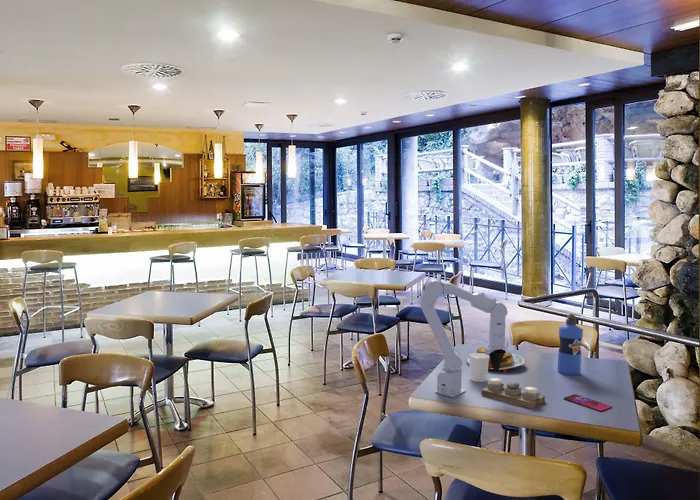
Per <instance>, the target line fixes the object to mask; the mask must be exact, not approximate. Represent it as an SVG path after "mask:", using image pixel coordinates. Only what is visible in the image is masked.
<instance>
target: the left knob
mask: <svg viewBox="0 0 700 500" xmlns="http://www.w3.org/2000/svg"><path fill="white" fill-rule="evenodd" d="M489 382H490V384H493V385H501V384H502V383H503V381H502V379H501V378H497V377H493V378H489Z"/></svg>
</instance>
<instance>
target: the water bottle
mask: <svg viewBox="0 0 700 500" xmlns="http://www.w3.org/2000/svg"><path fill="white" fill-rule="evenodd" d="M577 323H578V321H577V317H576V315H575V314H573V313H569V314H568V315H567V316H566V319H565V324H564V325H561V326H559V327H558V338H559V348H558V352H557V353H558V354H557V373H558V374H561V375H564V376H567V377H568V376H569V377H575V376H576V377H577V376H580V375H581V368H582V367H581V365H582V347H581V345H582V341H583V337H584V335H583V333H584V329H583V328H582V327H580V326H578V325H577Z"/></svg>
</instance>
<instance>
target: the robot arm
mask: <svg viewBox="0 0 700 500" xmlns="http://www.w3.org/2000/svg"><path fill="white" fill-rule="evenodd" d="M441 295H443V296H448V295H452V296H455V297H458V298H460V299H463V300H464V301H468V302H470V306H471V307H473V308H475V309H477V310H479V311H482V312H484V313H486V314H489V315H490V317H489V331H488V332H489V333H488V334H489V336H488V344H487V346H485V347H486V348H485V353H486V354H488V355H489V357H490V359H491V363H492V368H493V369H492V370H497V371H498V370H499V368H500V365H501V361H502V358H503V356H504V354H505V353H506V352H507V351H506V349H508V347H509V341H506V316H507V315H508V308H507V306H506V305H505V304H504V303H503V302H502V301H500V300H499V299H496V298H492V297H489V296H488V295H486V293H485V292H475V293H473V292H470V291H467V290H465V288H462V287H459V286H457V285H456V284H454V283H451V282H449V281H446V280H443V279H440V280H439V279H438V278H436V277H429V278H428V279H426V281H425V283H424V284H423V286H422V291H421V298H420V303H419V304H420V309H421V310H422V313H423V315H424V316H425V319H426V321H427V324H428V325H429V328H430V329H431V331H432V334H433V335H434V338H435V339H436V343H437V344H438V346H439V349H440V350H441V353H442V359H443V360H444V364H443V365H442V370H440V371H441V372H440V373H438V374H437V378H436V379H437V380H436V381H437V382H436V390H435V391H434V393H436V394H440V395H443V396H446V397H450V398H455V397H456V396H459V395H462V394H463V393H464V392H467V390H466V389H464V388H462V377H463V375H462V372H463V371H462V370H463V367H462V365H463V360H462V358H461V356H460V352H459V351H458V350H457V349H456V348H455V347H454V346H453V344H452V342H451V340H450V338H449V336H448V334H447V332H446V330H445V327H444V325H443V324H442V321H441V319H440V317H439V315H438V313H437V310H436V309H435V305H436V302H437V300H438V299H439V298H440V297H441Z"/></svg>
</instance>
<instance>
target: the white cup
mask: <svg viewBox="0 0 700 500" xmlns="http://www.w3.org/2000/svg"><path fill="white" fill-rule="evenodd" d="M468 358H469V363H468V365H469V367H468V368H469V380H471V381H473V382H476V383H485V382H486V381H488V375H489V373H488V372H489V369H488V366H489V355H487V354H484V353H477V352H472V353H469V356H468Z"/></svg>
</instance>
